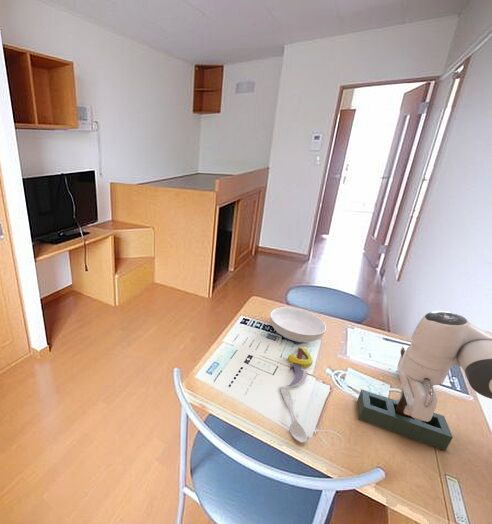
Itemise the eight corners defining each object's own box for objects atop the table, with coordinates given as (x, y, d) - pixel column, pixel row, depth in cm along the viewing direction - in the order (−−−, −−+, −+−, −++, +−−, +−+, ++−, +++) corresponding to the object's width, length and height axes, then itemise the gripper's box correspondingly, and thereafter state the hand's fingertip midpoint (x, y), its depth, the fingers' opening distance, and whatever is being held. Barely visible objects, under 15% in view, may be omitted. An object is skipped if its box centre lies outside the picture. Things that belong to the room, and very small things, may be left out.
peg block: (437, 428, 86) (444, 415, 84) (445, 450, 80) (453, 437, 78) (356, 401, 95) (361, 389, 93) (358, 419, 89) (363, 406, 87)
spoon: (292, 445, 81) (293, 440, 81) (276, 387, 100) (277, 383, 99) (309, 448, 80) (310, 443, 80) (289, 389, 99) (290, 385, 99)
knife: (304, 397, 96) (313, 354, 116) (306, 391, 95) (315, 348, 114) (278, 386, 100) (291, 346, 119) (280, 380, 99) (292, 341, 118)
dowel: (405, 415, 87) (418, 389, 83) (408, 424, 85) (421, 397, 81) (392, 411, 89) (403, 384, 85) (393, 419, 86) (406, 392, 82)
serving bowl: (327, 354, 116) (332, 339, 113) (269, 343, 122) (272, 328, 119) (316, 324, 134) (320, 311, 131) (266, 316, 140) (268, 303, 137)
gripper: (452, 400, 70) (429, 441, 75) (428, 350, 86) (411, 387, 92) (417, 389, 73) (397, 430, 78) (400, 343, 89) (385, 379, 95)
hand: (405, 406), depth 85 cm, fingers closed on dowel, 3 cm apart
